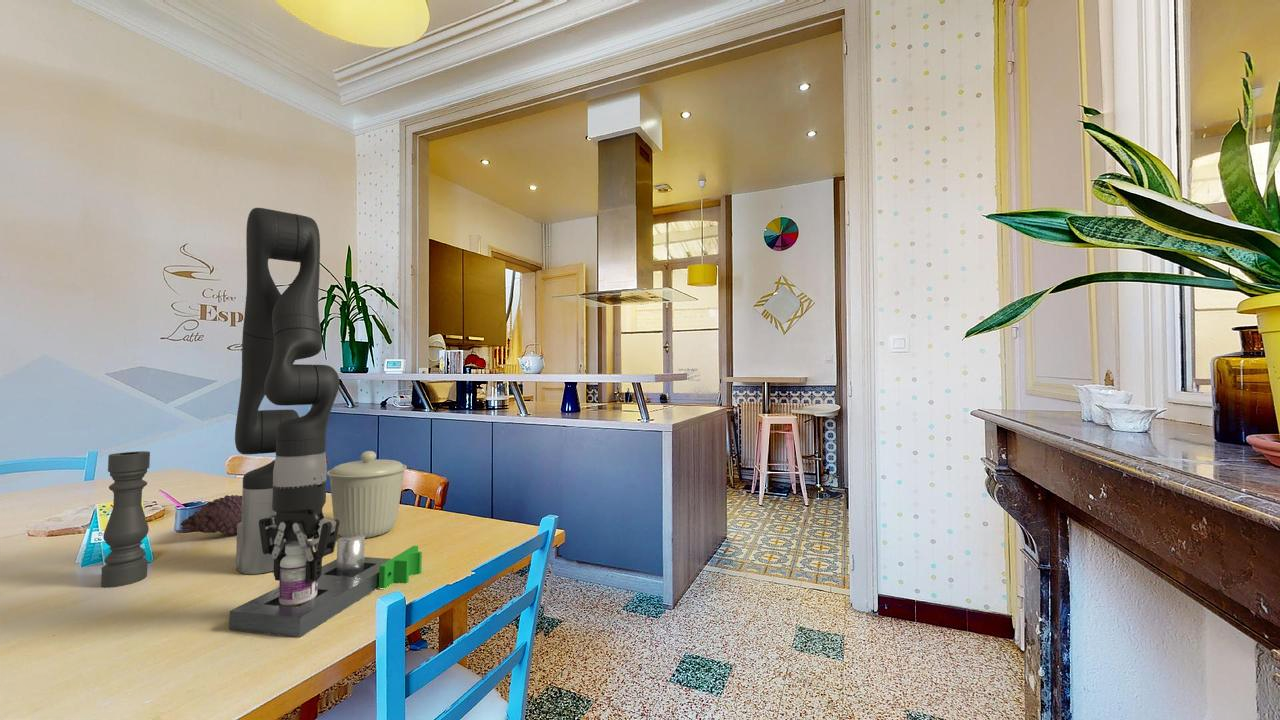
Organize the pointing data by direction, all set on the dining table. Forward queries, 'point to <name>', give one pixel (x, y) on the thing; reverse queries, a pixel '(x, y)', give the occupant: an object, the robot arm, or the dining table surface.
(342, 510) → the canister
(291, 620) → the hole plate
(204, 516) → the pine cone
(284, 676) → the dining table surface
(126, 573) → the candle holder
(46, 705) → the dining table surface
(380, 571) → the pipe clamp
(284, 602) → the pill bottle
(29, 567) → the dining table surface
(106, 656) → the dining table surface
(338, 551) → the clear glass cylinder
